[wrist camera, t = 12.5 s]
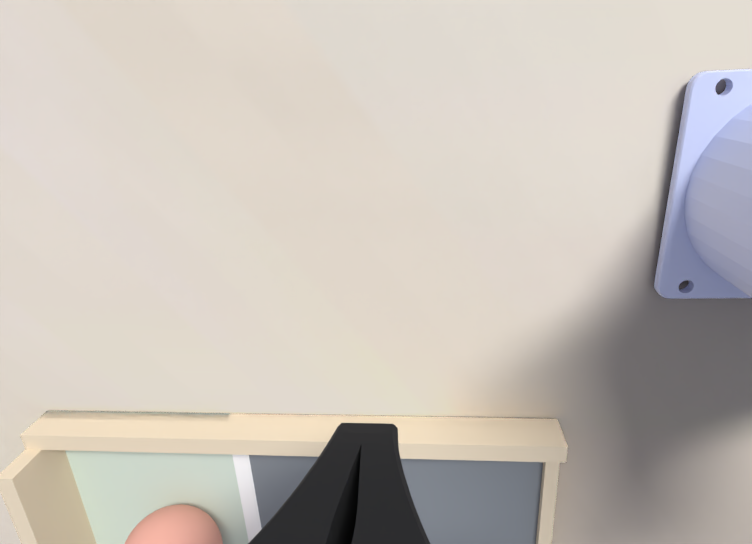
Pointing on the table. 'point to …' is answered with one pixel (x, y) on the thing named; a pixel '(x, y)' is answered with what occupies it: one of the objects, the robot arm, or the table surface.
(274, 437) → the tray
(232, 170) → the table surface
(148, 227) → the table surface
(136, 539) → the ball
